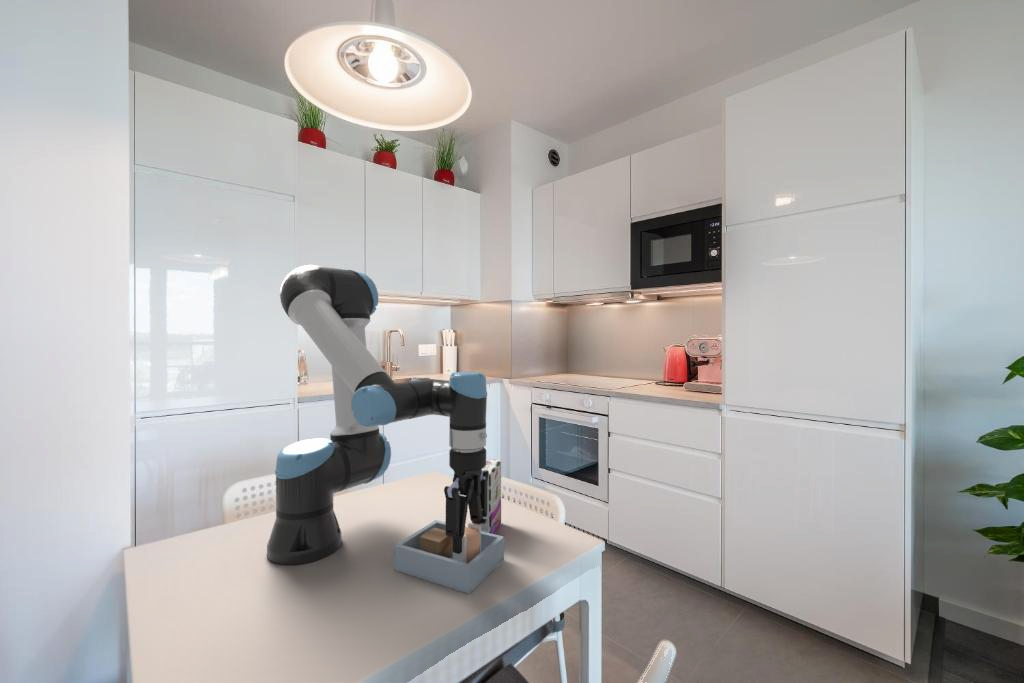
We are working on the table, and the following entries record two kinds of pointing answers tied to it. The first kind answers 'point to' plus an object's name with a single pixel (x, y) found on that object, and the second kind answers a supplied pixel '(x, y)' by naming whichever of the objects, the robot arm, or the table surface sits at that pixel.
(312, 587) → the table surface
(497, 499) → the candy bar box
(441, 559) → the tote
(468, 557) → the peach rounded cylinder
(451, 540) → the walnut cube
